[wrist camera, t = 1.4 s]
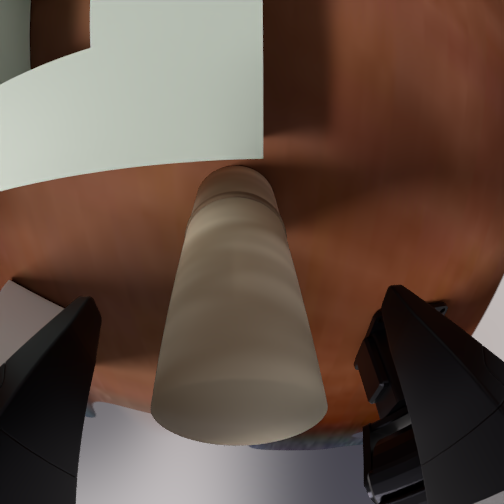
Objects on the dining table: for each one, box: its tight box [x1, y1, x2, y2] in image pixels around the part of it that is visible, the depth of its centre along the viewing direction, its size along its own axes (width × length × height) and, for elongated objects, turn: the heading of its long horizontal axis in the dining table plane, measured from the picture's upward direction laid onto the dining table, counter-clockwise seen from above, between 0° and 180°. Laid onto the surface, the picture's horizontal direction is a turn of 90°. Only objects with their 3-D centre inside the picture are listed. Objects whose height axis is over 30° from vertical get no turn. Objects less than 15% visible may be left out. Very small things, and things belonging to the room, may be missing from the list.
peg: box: [151, 166, 327, 446], centre depth 9 cm, size 4×4×10 cm
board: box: [0, 0, 263, 191], centre depth 6 cm, size 16×14×3 cm
